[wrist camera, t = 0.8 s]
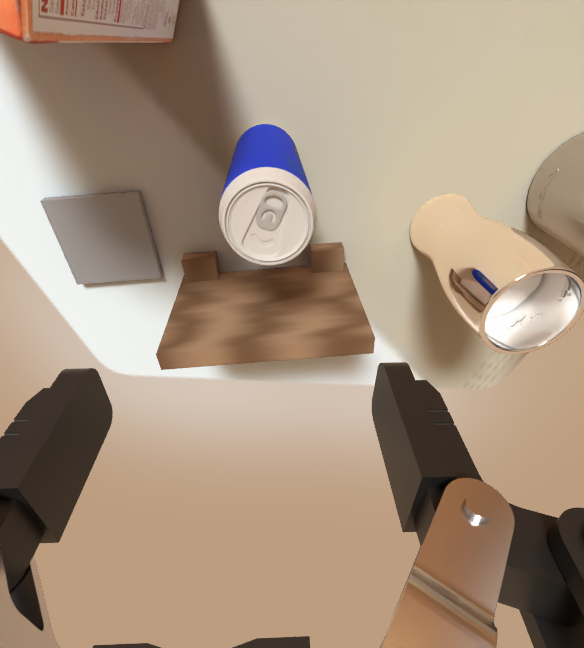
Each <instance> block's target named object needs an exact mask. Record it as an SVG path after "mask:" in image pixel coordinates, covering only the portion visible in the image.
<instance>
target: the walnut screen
mask: <svg viewBox="0 0 584 648" xmlns="http://www.w3.org/2000/svg"><path fill="white" fill-rule="evenodd" d="M310 256H311V266H302V267H289V268H275V269H261V270H247V271H234V272H220V271H219V266H218V260H217V255H216V252H202V253H188V254H184V256H183V258H182V265H183V269H184V273H185V275H184V277H183V280H182V283H181V285H180V288H179V291H178V294H177V297H176V300H175V302H174V305H173V308H172V311H171V314H170V317H169V319H168V322H167V325H166V328H165V331H164V334H163V336H162V339H161V342H160V345H159V348H158V351H157V353H156V356H157V358H158V361H159V364H160V367H161V370H164V369H177V368H190V367H203V366H215V365H228V364H241V363H254V362H266V361H279V360H292V359H305V358H318V357H330V356H343V355H356V354H369V353H373V350H374V341H375V337H374V334H373V332H372V329H371V327H370V324H369V321H368V319H367V316H366V314H365V311H364V309H363V306H362V303H361V301H360V298H359V296H358V293H357V291H356V288H355V286H354V283H353V280H352V278H351V275H350V273H349V270H348V268H347V265H346V263H344V247H343V245H342V243H328V244H314V245H310Z"/></svg>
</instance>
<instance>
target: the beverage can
mask: <svg viewBox="0 0 584 648" xmlns="http://www.w3.org/2000/svg"><path fill="white" fill-rule="evenodd" d="M219 223H220V227H221V230H222V233H223V235H224V237H225V239H226V240H227V242H228V243H229V245H230V246H231V248H232V249H233V250H234V251H235V252H236V253H237V254H238V255H240V256H241V257H242V258H244V259H246V260H248V261H250V262H252V263H255V264H260V265H278V264H282V263H285V262H288V261H290V260H292V259H293V258H295V257H296V256H298V255H299V254H300V253H301V252H302V251H303V250H304V248H305V247H306V246H307V244H308V242H309V240H310V238H311V236H312V234H313V232H314V229H315V225H316V206H315V202H314V199H313V196H312V193H311V190H310V187H309V184H308V181H307V179H306V176H305V173H304V170H303V167H302V164H301V161H300V158H299V155H298V152H297V149H296V146H295V144H294V142H293V140H292V139H291V137H290V136H289V135H288V134H287V133H286V132H285V131H284V130H282V129H281V128H279V127H277V126H274V125H269V124H261V125H257V126H254V127H252V128H250V129H248V130H247V131H246V132H245V133H244V134H243V135H242V136H241V137H240V139H239V141H238V143H237V145H236V148H235V152H234V155H233V159H232V162H231V166H230V169H229V172H228V176H227V179H226V183H225V186H224V190H223V193H222V197H221V200H220V205H219Z"/></svg>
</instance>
